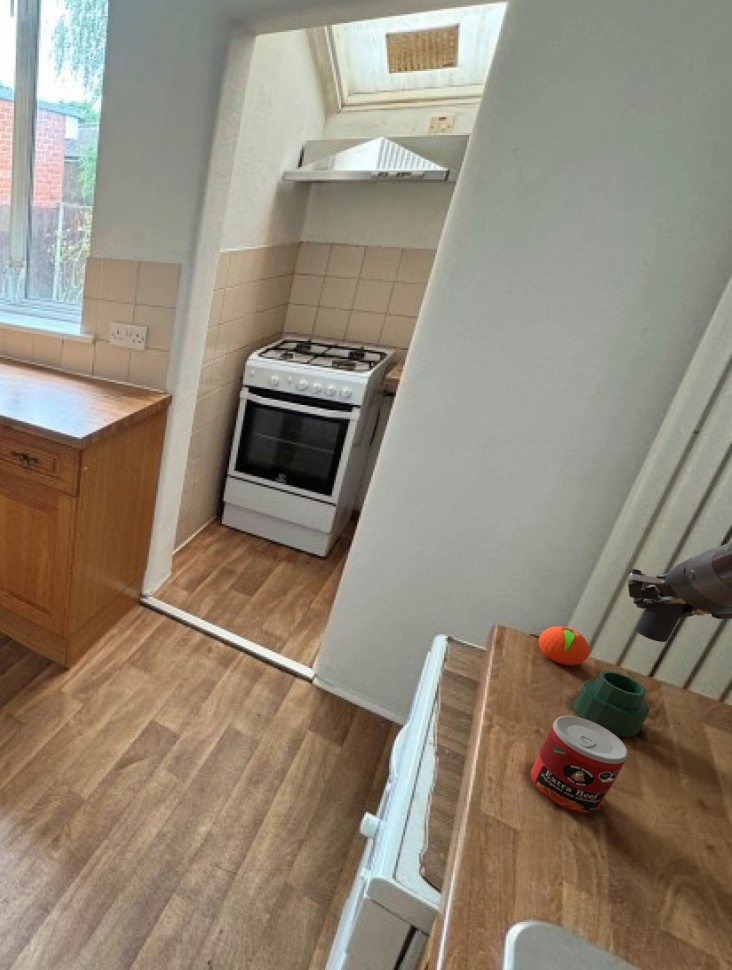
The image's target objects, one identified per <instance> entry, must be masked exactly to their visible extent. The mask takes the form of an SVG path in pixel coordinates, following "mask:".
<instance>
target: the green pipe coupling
mask: <svg viewBox="0 0 732 970" xmlns="http://www.w3.org/2000/svg"><path fill="white" fill-rule="evenodd" d="M647 691H648V690H647V688H645V686H643V684H642V683H640V682H639V681H637V680H636V679H634V678H632V677H630V676H628V675H625V674H623V673H621V672H617V671H612V670H601V671H600V673H599V675H598V677H597V679H595V678H594V679H593V678H590V679H588V680H585V681H584V682H583V684H582V686H581V687H580V690H579V692H578V694H577V696H576V698H575V700H574V702H573V708H574V710H575V712H576V713H577V714H578V715H579V716H580V718H583V719H586V720H589V721H591V722H594V723H596V724H598V725H600V726H602V727H603V728H605V729H607V730H608V731H610V732H611V733H613V734H614V735H615V736H620V737H627V738H628V737H629V738H631V737H634V736H636V735H638V733H639V731H640V730H641V728H642V726H643V725H644V723H645V721H646V720H647V718H648V715H649V713H650V710H651V709H650V707H649V705H648V704H647V703H646V701H644V699H645V697H646V695H647Z"/></svg>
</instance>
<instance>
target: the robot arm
mask: <svg viewBox="0 0 732 970" xmlns="http://www.w3.org/2000/svg"><path fill="white" fill-rule="evenodd" d="M628 570H629V571H628V582H627V589H628V595H629V597H630V598H632V599H633V604H634V605H635V607H636V608H639V609H642V610H644V609H645V610H646V608H647V607H650V606H652V605H655V603H662V604H666V605H669V604H675V603H682V604H685V603H688V604H687V605H686V607H685V609H684V611H683V613H682V615H681V616H680V618H679V619H683V618H687V617H693V616H699V617H700V616H705V615H711V618H713V619H716V620H732V541H730V542H728V543H726V544H722V545H718V546H714V547H711V548H709V549H707V550H705V551H702V552H700V553H698V554H697V555H694V556H691V557H690V558H688V559H685V560H683V561H682V562H680V563H678V564H677V565H675V566H674V567H673V568H672V569H671V570H670V572H668V573H659V574H656V576H651V575H650V576H649V575H647V574H646V573H642V570H640V569H637V568H630V569H628Z"/></svg>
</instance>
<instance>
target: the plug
mask: <svg viewBox="0 0 732 970" xmlns="http://www.w3.org/2000/svg"><path fill="white" fill-rule="evenodd" d="M687 604H688V603H685V604H682V603H675V604H669V605H666V604H662V603H655V605H652V606H650V607H647V608H645V610H644V612H643V614H642V615H641V617H640V619H639V621H638V623H637V625H636V627H635V631H636V632H637V633H638V634H639V635H641V637H642V636H643V637H644V638H647V639H649V640H651V641H654V642H659V643H666V642H667V641H669V638H670V637H671V636H672V635H671V634H672V633H673V631H674V629H675V627H676V626H677V624H678V622H679V621H680V619H681V618H680V616H681V615H682V613H683V611H684V609H685V607H686V605H687Z"/></svg>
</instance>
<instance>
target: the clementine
mask: <svg viewBox="0 0 732 970" xmlns="http://www.w3.org/2000/svg"><path fill="white" fill-rule="evenodd" d="M538 644H539V648H540V650H541V652H542V653H543V654H544V655H545V656H546V657H547V658H548V659H549V660H551V661H552V662H554V663H557V664H559V665H564V666H575V665H579V664H581V663H583V662H585V661H586V660H587V659H588V657H589V655H590V652H591V650H590V649H591V648H590V645H589V642H588V640H587V639H586V638H585V636H583V635H582V634H581V633H580V632H578V631H576V630H575V629H573V628H571V627H566V626H552V627H548V628H547V629H544V630H543V631H542V633H541V634H540V635H539V637H538Z"/></svg>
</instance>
